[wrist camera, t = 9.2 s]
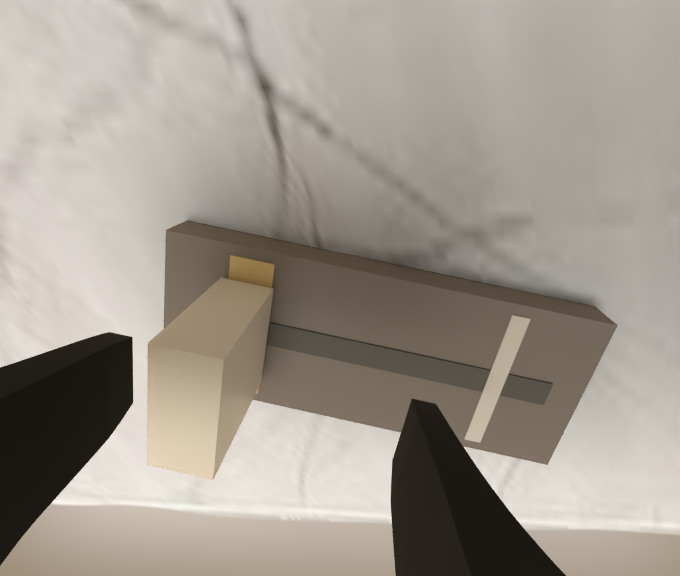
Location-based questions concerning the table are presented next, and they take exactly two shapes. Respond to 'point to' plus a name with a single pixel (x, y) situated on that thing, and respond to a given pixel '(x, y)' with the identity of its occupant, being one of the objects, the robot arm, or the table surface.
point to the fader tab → (205, 376)
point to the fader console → (401, 339)
